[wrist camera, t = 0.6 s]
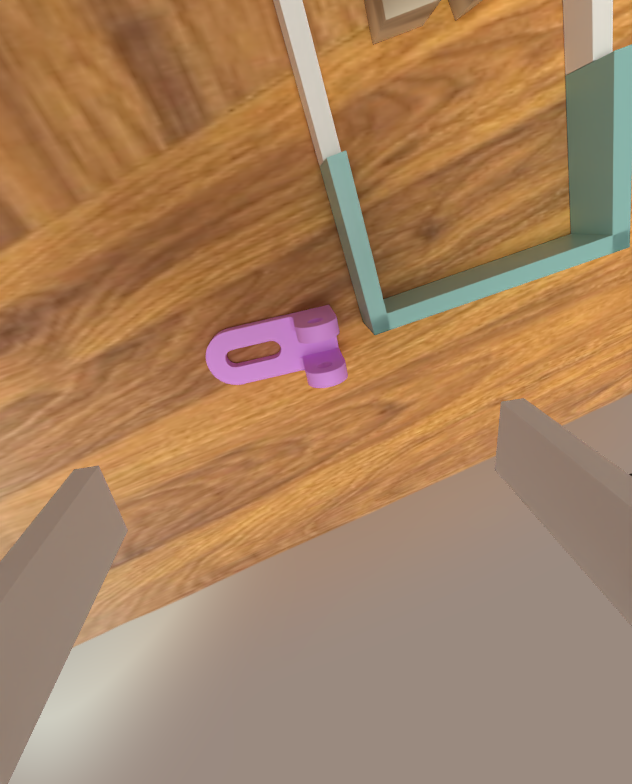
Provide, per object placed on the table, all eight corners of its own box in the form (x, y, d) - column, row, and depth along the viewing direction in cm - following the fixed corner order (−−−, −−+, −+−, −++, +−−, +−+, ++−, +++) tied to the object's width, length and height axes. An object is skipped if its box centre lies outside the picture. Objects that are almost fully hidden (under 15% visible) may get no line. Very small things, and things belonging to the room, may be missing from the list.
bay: (319, 166, 32) (326, 157, 28) (583, 69, 31) (634, 43, 27) (363, 321, 38) (374, 335, 34) (586, 244, 37) (629, 247, 33)
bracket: (328, 304, 37) (339, 320, 31) (339, 356, 40) (351, 381, 33) (200, 334, 37) (184, 356, 31) (218, 384, 40) (207, 415, 33)
